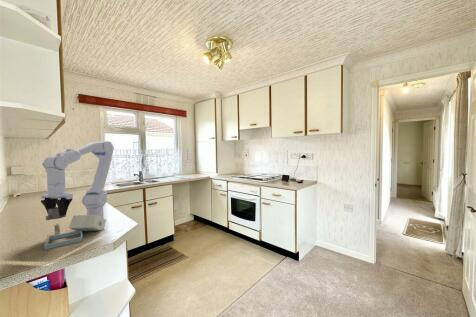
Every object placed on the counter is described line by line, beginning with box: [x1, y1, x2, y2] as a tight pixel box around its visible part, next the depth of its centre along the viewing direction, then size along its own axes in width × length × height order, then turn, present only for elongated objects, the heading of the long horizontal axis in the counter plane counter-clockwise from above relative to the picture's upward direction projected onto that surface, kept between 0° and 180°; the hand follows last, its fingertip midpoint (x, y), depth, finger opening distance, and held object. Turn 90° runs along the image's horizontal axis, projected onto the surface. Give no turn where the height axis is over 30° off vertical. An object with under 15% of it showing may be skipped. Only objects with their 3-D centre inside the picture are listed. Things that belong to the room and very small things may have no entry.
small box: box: [68, 214, 107, 232], centre depth 89 cm, size 8×6×10 cm
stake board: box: [44, 222, 75, 241], centre depth 87 cm, size 9×10×6 cm
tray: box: [43, 230, 84, 250], centre depth 79 cm, size 11×11×2 cm
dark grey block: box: [45, 206, 67, 221], centre depth 84 cm, size 5×7×4 cm
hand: (57, 215), depth 84 cm, fingers closed on dark grey block, 5 cm apart
